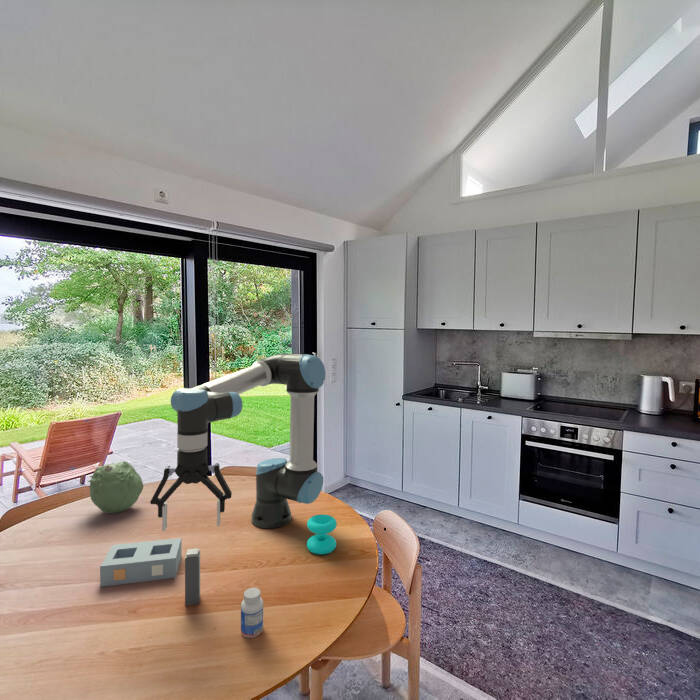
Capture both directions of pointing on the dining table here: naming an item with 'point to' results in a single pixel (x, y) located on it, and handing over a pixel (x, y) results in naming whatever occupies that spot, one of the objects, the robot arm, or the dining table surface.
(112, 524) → the dining table surface
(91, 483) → the cabbage
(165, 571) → the socket block
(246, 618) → the pill bottle
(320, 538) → the turquoise spool
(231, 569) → the dining table surface
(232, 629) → the dining table surface
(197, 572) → the plug
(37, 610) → the dining table surface
